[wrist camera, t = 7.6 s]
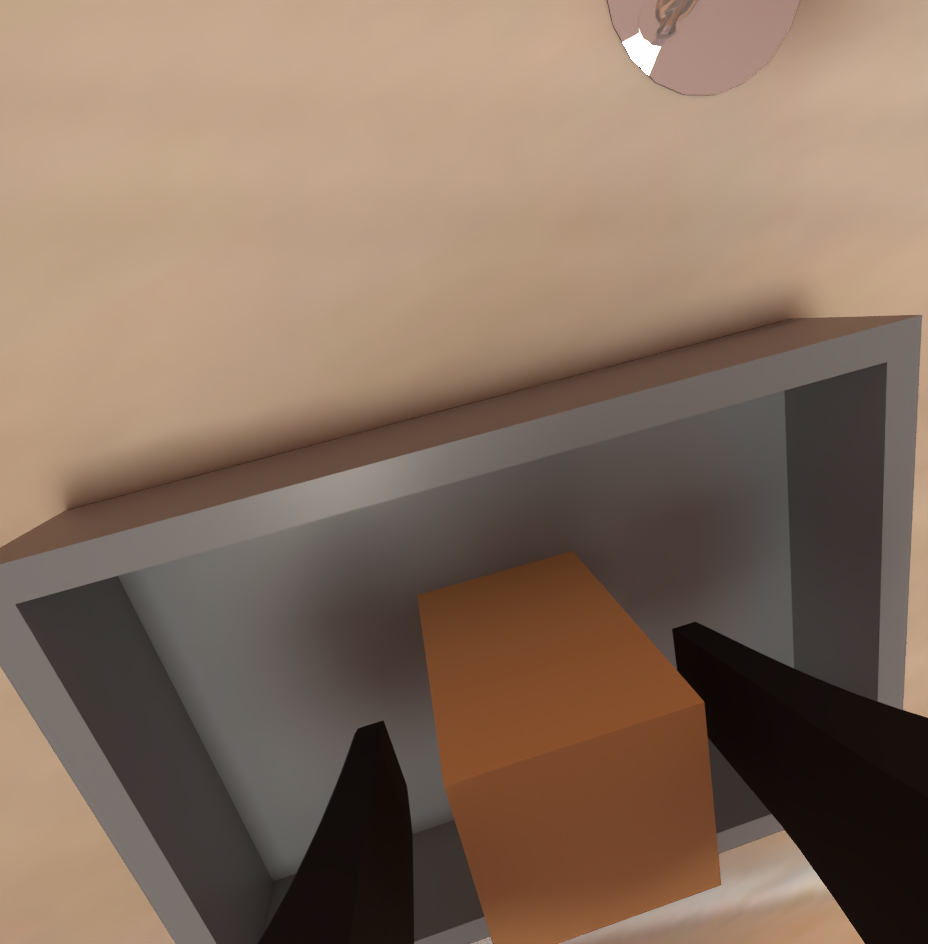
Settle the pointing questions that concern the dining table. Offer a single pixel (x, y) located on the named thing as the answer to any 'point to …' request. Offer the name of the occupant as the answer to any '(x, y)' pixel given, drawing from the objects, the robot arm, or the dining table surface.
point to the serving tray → (444, 564)
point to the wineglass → (702, 39)
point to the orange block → (566, 753)
